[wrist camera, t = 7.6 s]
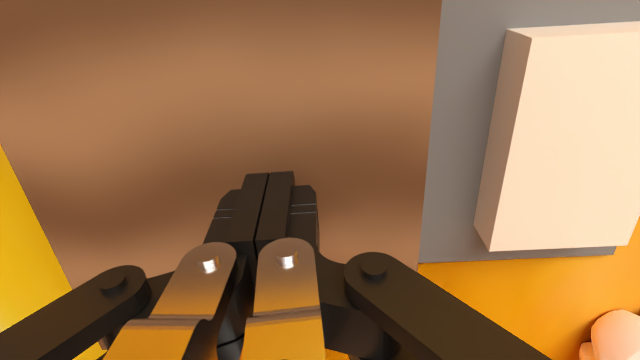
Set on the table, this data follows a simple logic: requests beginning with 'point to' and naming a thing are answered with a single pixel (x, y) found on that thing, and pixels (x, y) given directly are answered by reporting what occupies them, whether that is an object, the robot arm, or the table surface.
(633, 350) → the water bottle
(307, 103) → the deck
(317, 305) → the robot arm
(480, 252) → the mat
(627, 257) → the table surface
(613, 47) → the white flat block
